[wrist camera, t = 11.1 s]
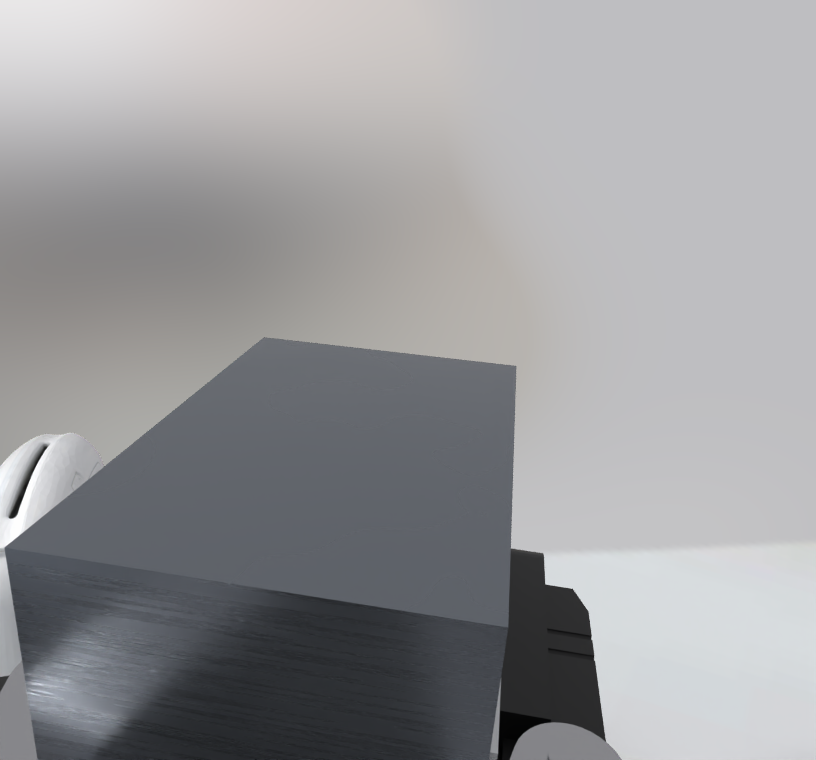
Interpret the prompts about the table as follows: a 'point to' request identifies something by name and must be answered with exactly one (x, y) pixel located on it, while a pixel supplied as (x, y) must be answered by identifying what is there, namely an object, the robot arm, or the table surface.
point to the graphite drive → (283, 569)
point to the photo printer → (35, 508)
